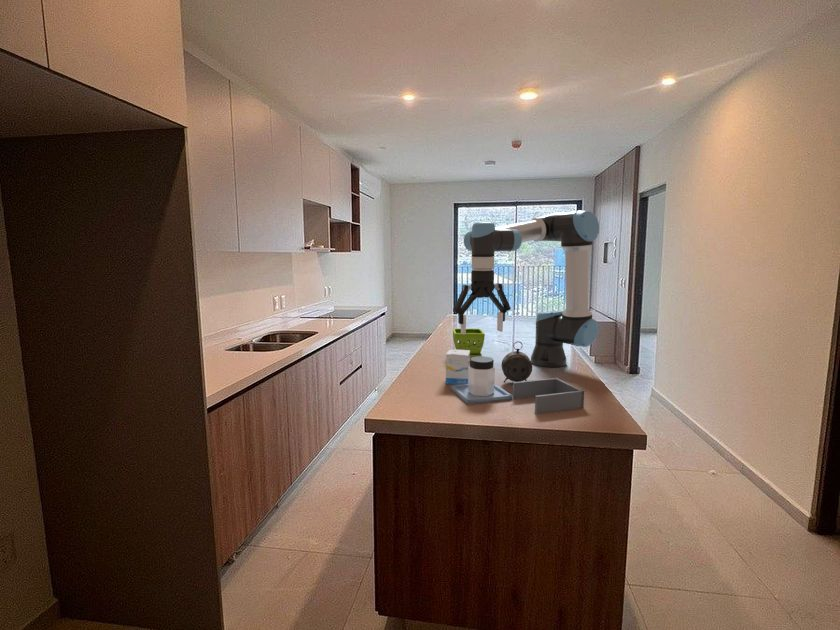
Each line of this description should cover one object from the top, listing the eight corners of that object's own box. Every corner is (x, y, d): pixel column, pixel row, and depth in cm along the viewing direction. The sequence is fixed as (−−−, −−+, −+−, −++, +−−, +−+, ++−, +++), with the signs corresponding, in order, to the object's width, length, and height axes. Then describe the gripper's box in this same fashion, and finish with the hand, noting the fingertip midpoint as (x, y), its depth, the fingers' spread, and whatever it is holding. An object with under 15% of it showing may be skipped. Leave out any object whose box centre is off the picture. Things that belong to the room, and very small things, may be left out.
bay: (555, 392, 152) (556, 377, 151) (583, 407, 138) (584, 391, 137) (512, 397, 147) (513, 382, 146) (536, 413, 133) (537, 396, 132)
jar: (477, 387, 157) (478, 354, 155) (497, 391, 151) (498, 358, 150) (464, 393, 150) (464, 359, 148) (484, 398, 145) (484, 363, 143)
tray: (491, 385, 161) (491, 381, 160) (512, 399, 145) (512, 395, 145) (450, 389, 156) (450, 385, 156) (468, 404, 141) (468, 400, 141)
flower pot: (484, 361, 195) (485, 333, 193) (453, 361, 195) (454, 333, 193) (480, 353, 208) (481, 327, 206) (451, 353, 209) (452, 327, 207)
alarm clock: (529, 381, 165) (531, 340, 162) (532, 386, 159) (534, 343, 157) (500, 381, 165) (502, 339, 163) (502, 385, 160) (503, 342, 158)
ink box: (468, 385, 160) (468, 355, 158) (445, 384, 162) (445, 354, 160) (470, 378, 169) (470, 349, 167) (448, 377, 170) (448, 348, 168)
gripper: (510, 268, 151) (509, 327, 154) (443, 270, 144) (443, 332, 147) (521, 269, 144) (519, 331, 147) (451, 271, 137) (451, 336, 140)
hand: (481, 332), depth 147 cm, fingers open, 13 cm apart
